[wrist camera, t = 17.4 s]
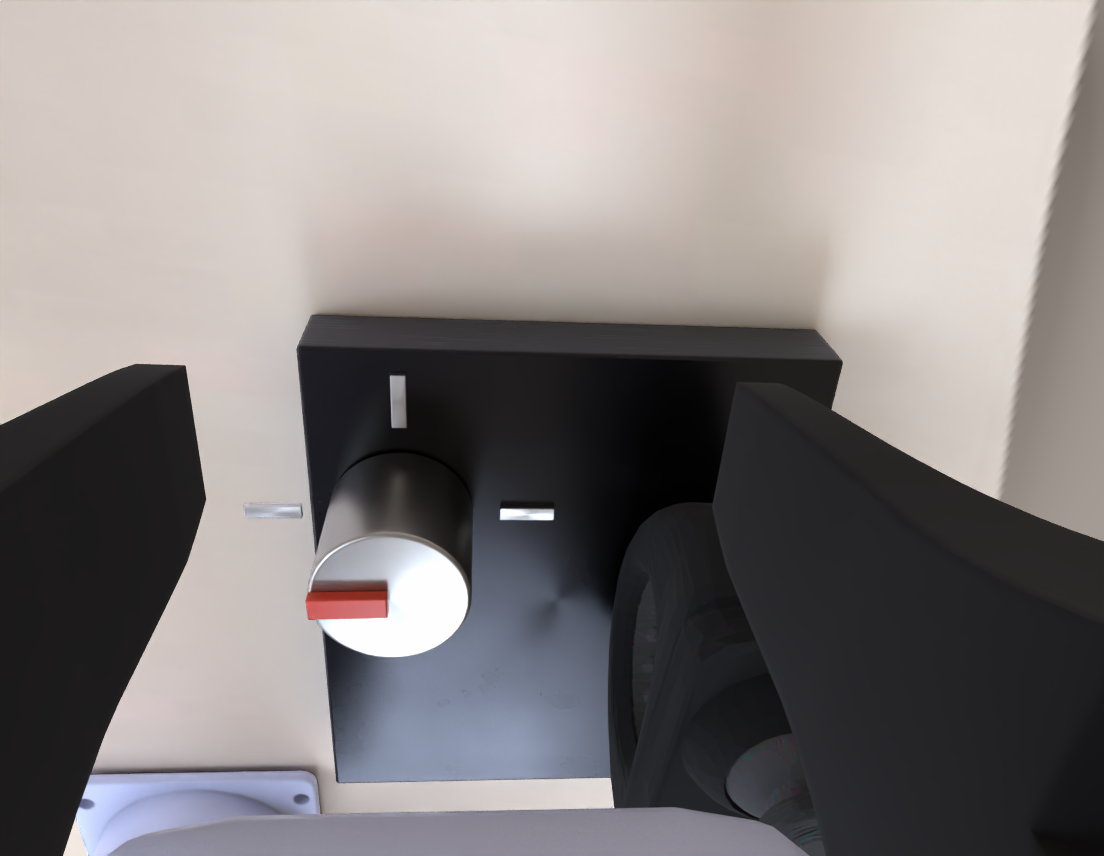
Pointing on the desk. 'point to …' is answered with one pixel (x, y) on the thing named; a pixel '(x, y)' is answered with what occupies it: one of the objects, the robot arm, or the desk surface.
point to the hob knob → (394, 557)
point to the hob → (521, 513)
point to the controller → (697, 688)
